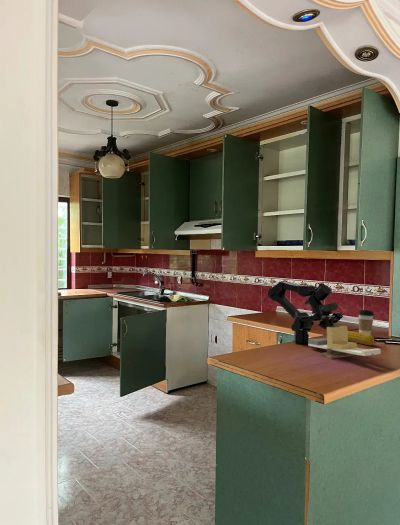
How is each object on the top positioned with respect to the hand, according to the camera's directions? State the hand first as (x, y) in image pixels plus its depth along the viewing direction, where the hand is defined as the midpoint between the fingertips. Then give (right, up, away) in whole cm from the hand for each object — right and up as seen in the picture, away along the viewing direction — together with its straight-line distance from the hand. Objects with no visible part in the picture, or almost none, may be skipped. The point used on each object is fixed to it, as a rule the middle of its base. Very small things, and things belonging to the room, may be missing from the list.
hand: (334, 333), depth 177 cm
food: (+20, -10, +27) cm, 35 cm away
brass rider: (+2, -5, -4) cm, 7 cm away
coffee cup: (+32, -9, +42) cm, 54 cm away
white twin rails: (+2, -6, -4) cm, 8 cm away
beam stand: (+1, -9, -2) cm, 10 cm away
